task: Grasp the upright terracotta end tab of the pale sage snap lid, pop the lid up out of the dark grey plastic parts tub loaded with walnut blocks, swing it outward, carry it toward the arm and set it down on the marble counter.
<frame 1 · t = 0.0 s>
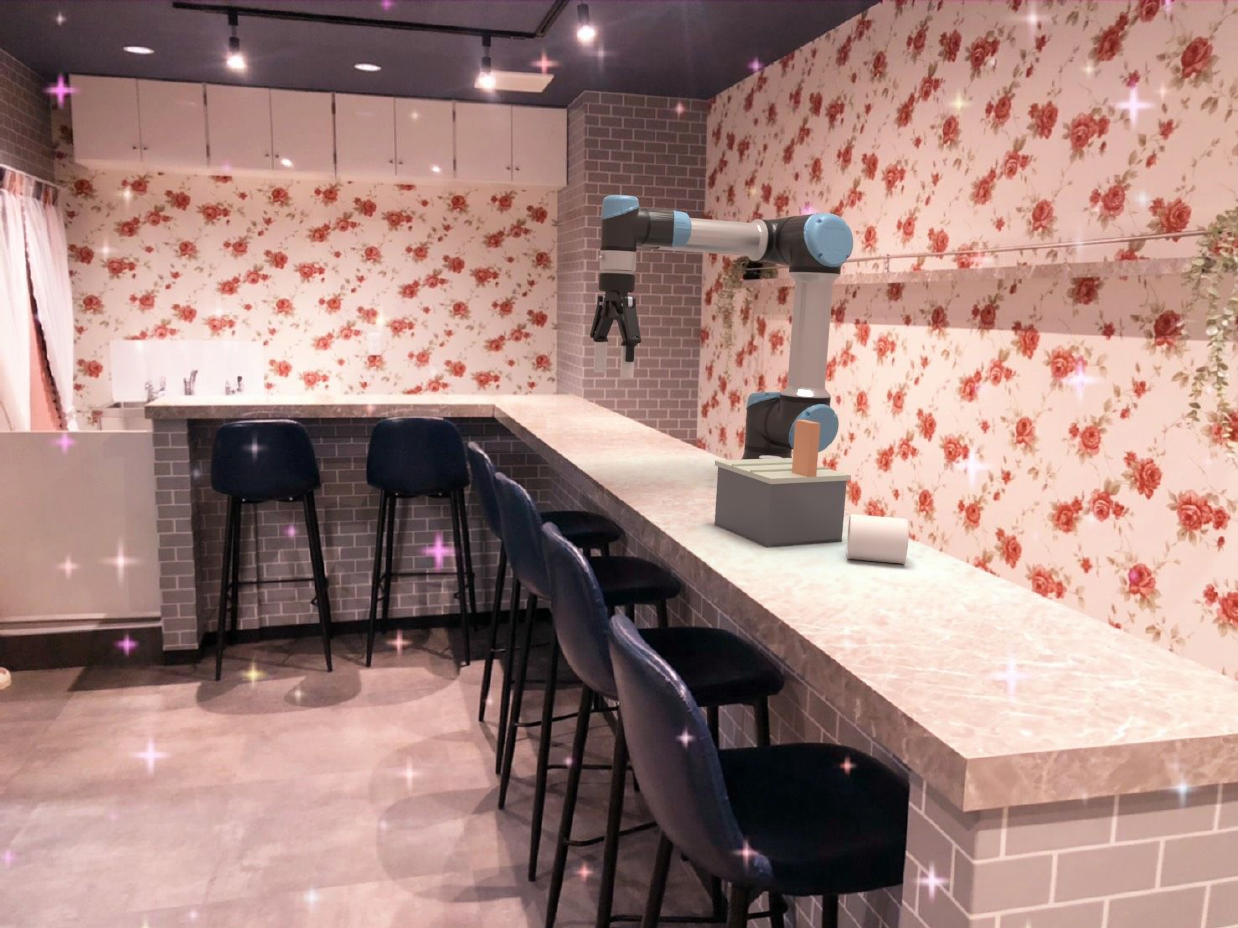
hand: (612, 375, 208), 28 cm above the worktop, fingers open, 13 cm apart
lid: (782, 447, 191), point 17 cm above the worktop, touching tub
beverage can: (767, 513, 213), on the worktop
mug: (874, 558, 178), on the worktop
tub: (776, 532, 194), on the worktop
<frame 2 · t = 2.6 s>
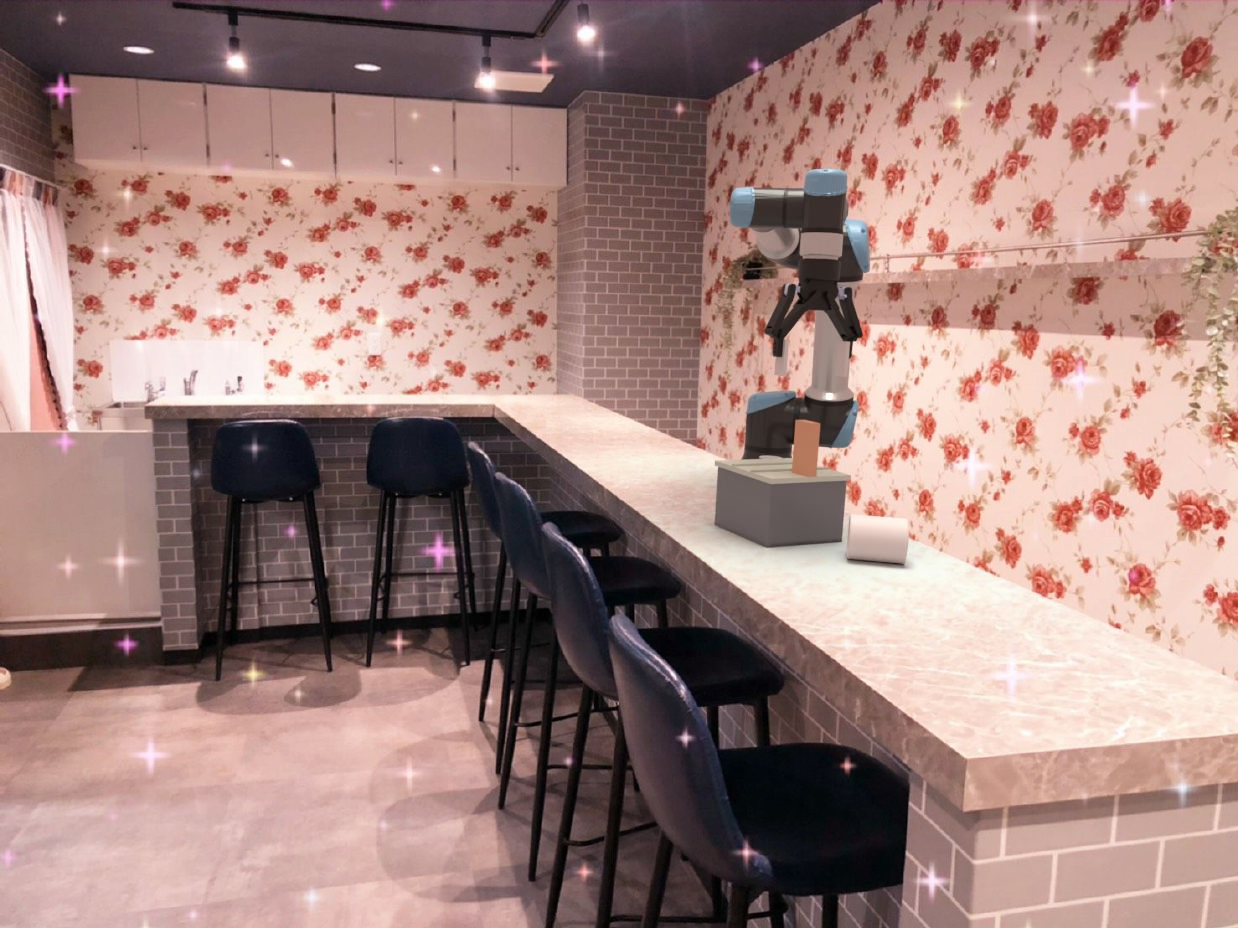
hand: (811, 376, 182), 31 cm above the worktop, fingers open, 13 cm apart
nothing on the worktop moved.
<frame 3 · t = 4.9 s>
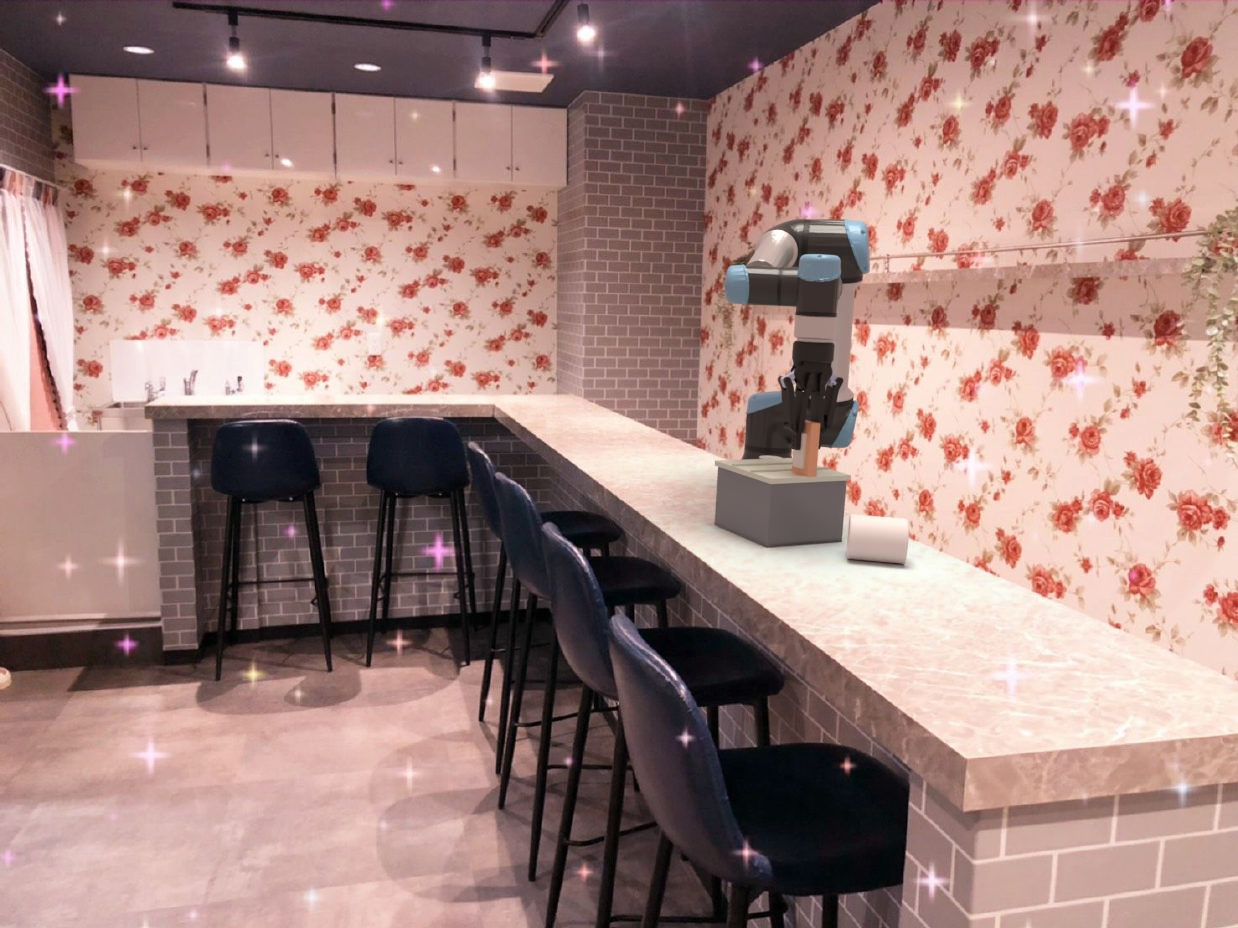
hand: (804, 466, 185), 14 cm above the worktop, fingers closed on lid, 2 cm apart
lid: (782, 447, 191), point 17 cm above the worktop, touching gripper, tub
everything else where it was.
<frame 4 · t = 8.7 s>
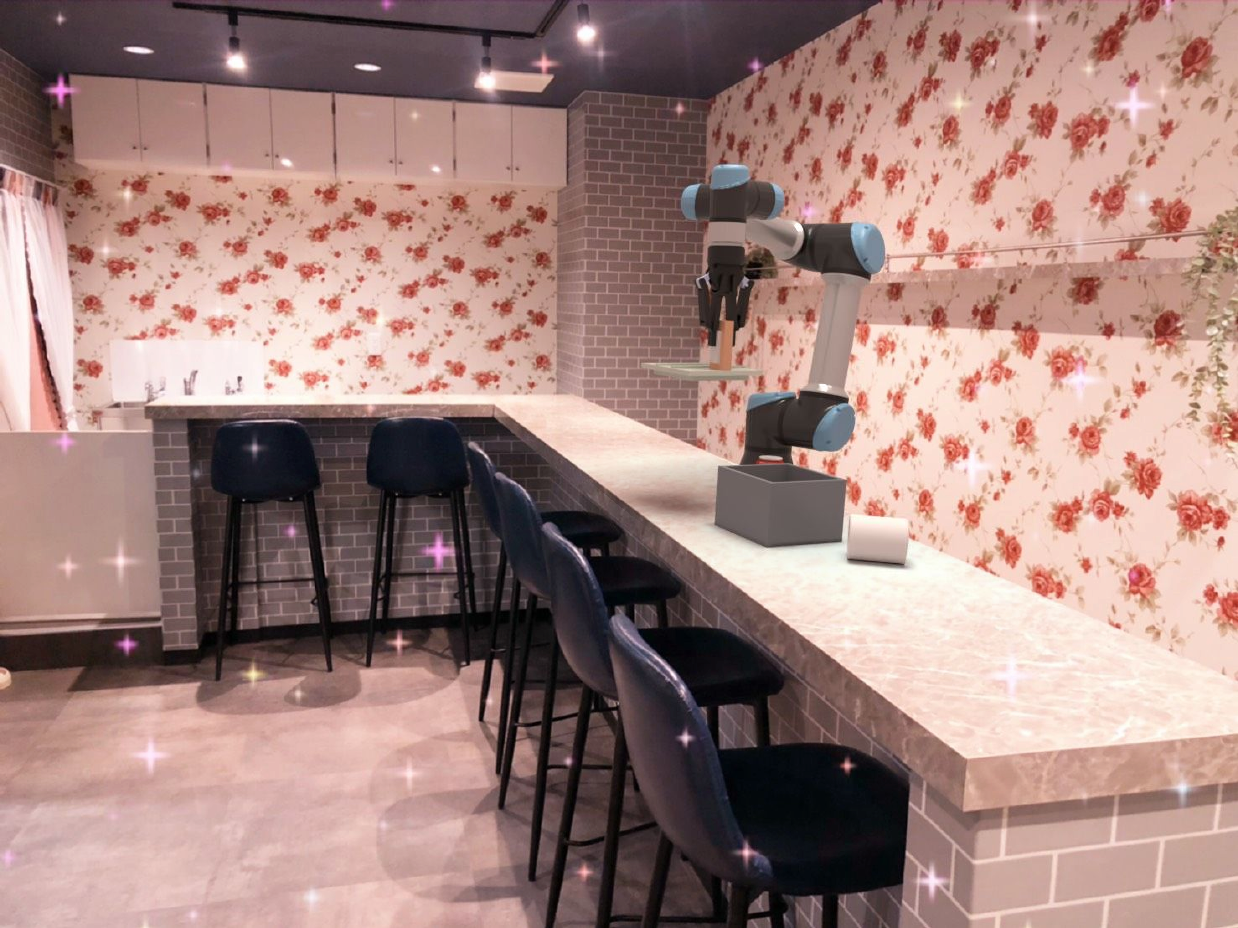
hand: (720, 362, 202), 32 cm above the worktop, fingers closed on lid, 2 cm apart
lid: (701, 348, 208), point 34 cm above the worktop, touching gripper
everything else where it was.
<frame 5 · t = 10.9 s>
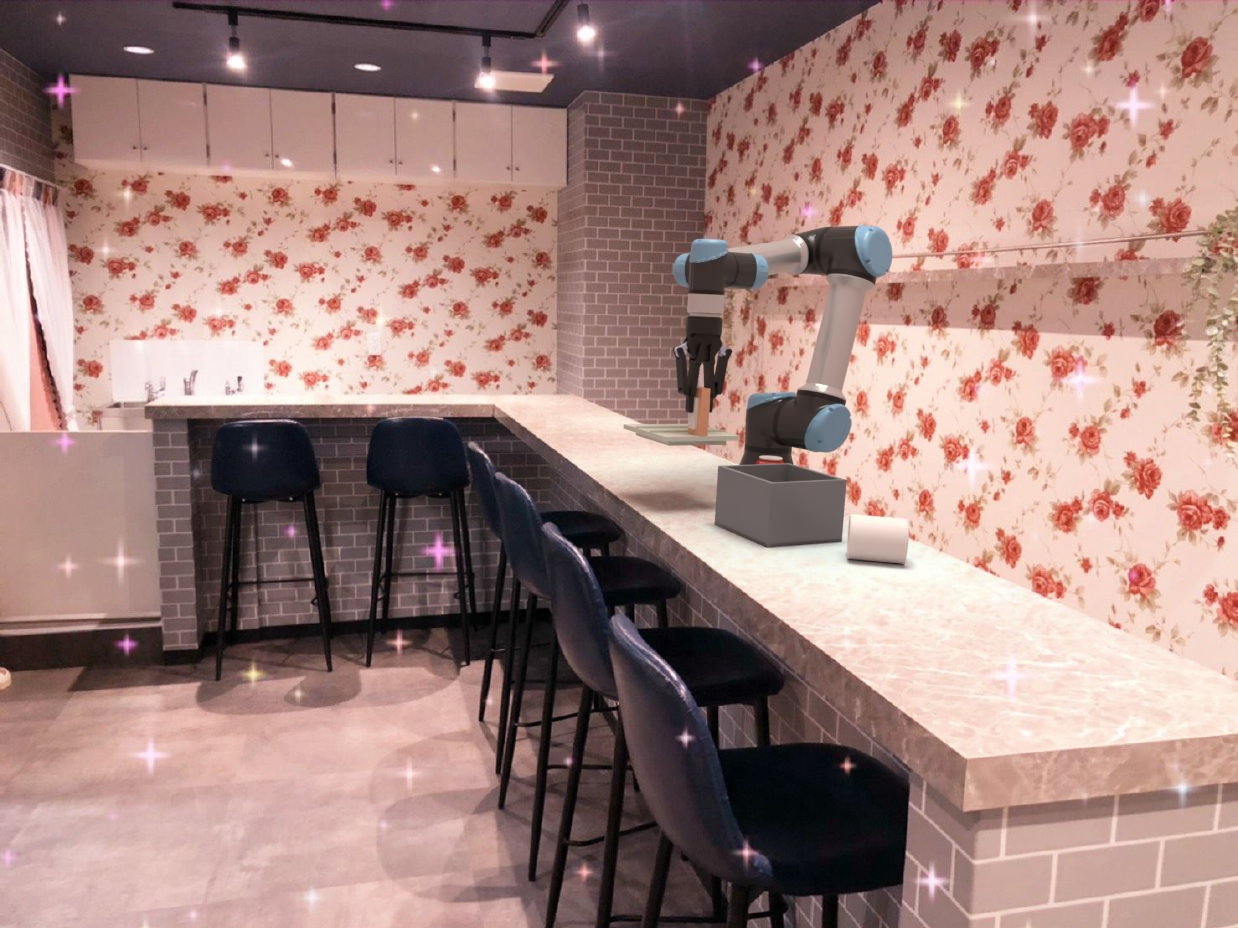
hand: (697, 427, 208), 18 cm above the worktop, fingers closed on lid, 2 cm apart
lid: (681, 412, 215), point 20 cm above the worktop, touching gripper
everything else where it was.
when the fingers open (5 cm above the worktop, at t = 12.5 s): lid drops 2 cm, on the worktop.
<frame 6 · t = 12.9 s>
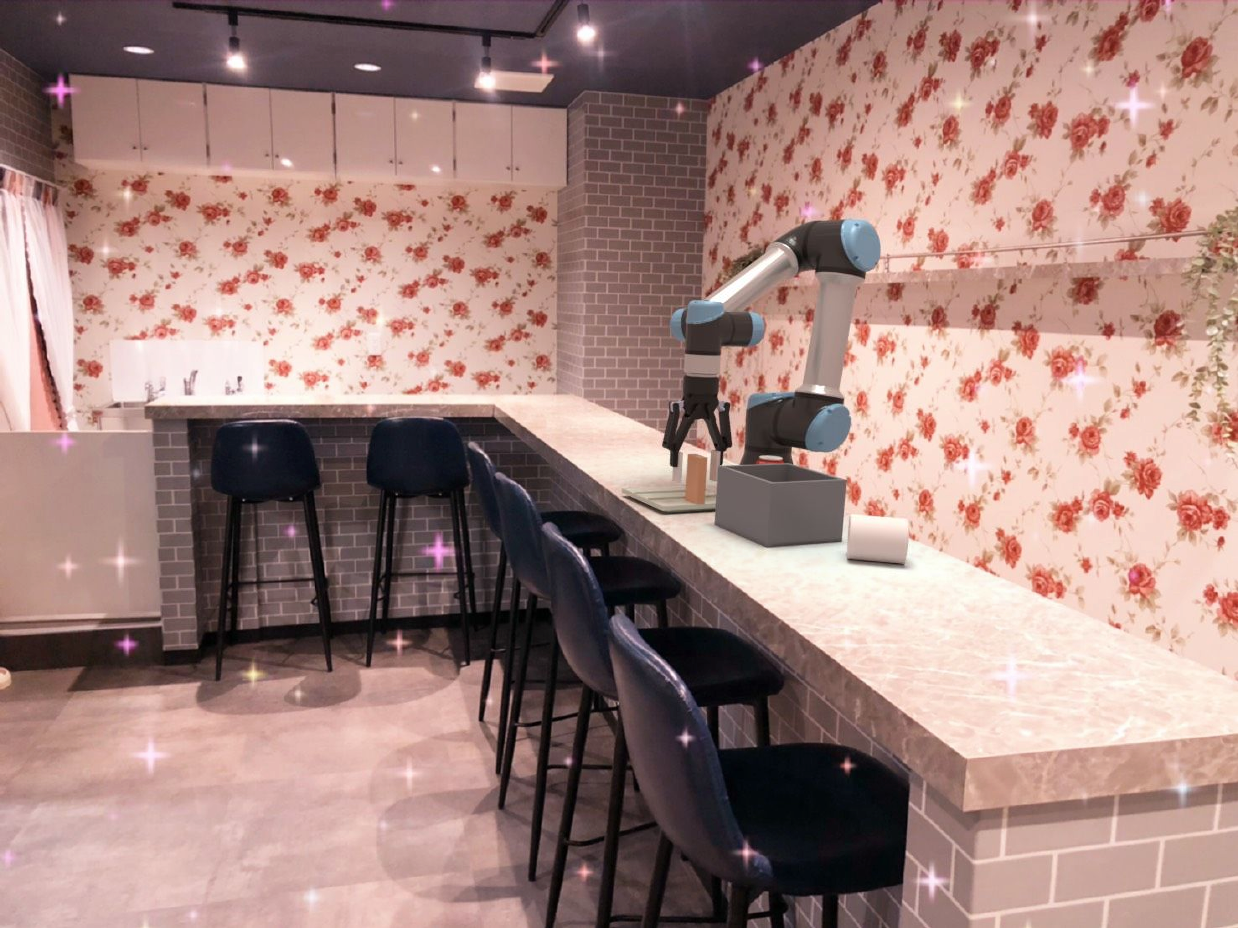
hand: (695, 481, 210), 6 cm above the worktop, fingers open, 8 cm apart
lid: (679, 477, 217), on the worktop
everything else where it was.
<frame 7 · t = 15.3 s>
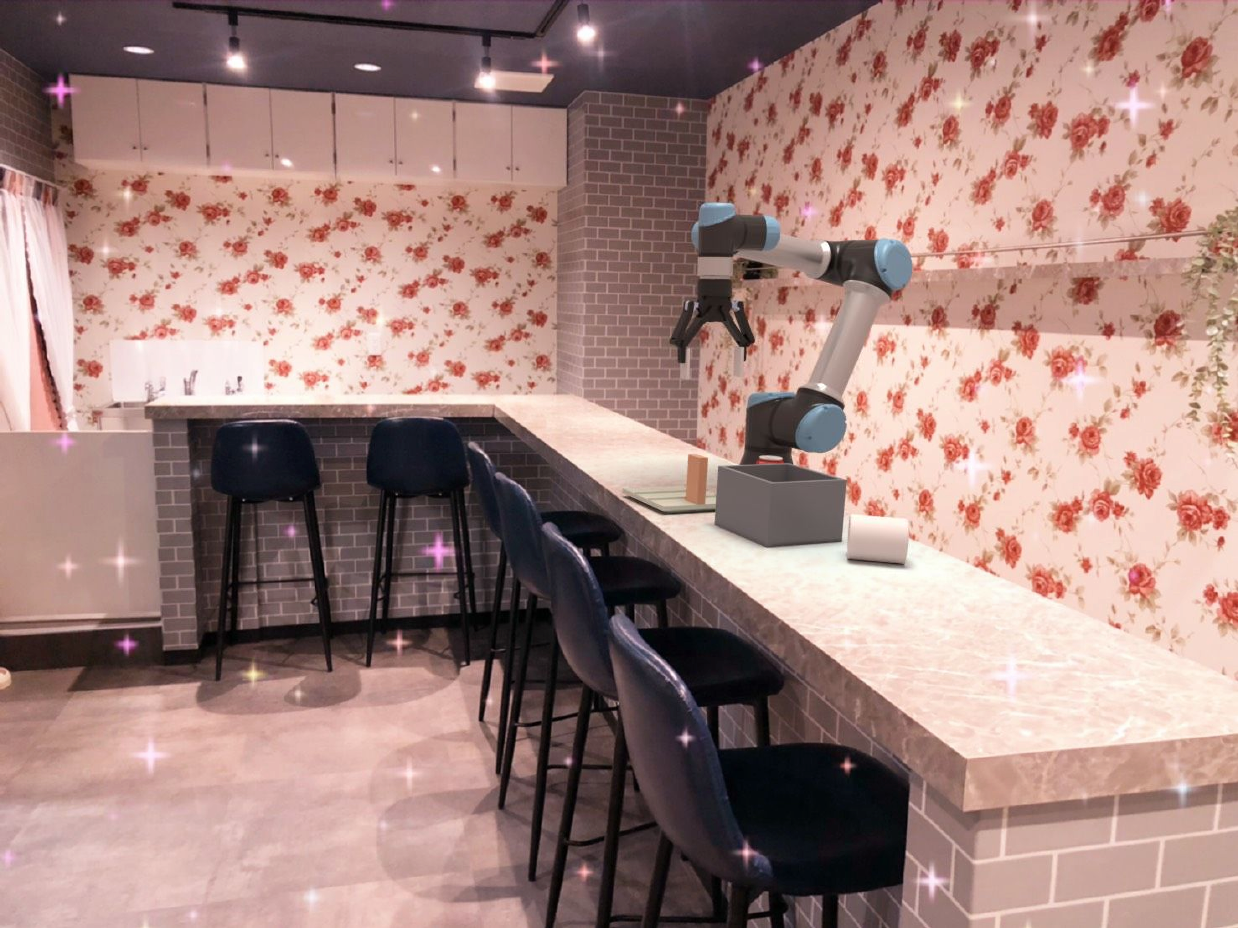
hand: (711, 377, 214), 28 cm above the worktop, fingers open, 13 cm apart
nothing on the worktop moved.
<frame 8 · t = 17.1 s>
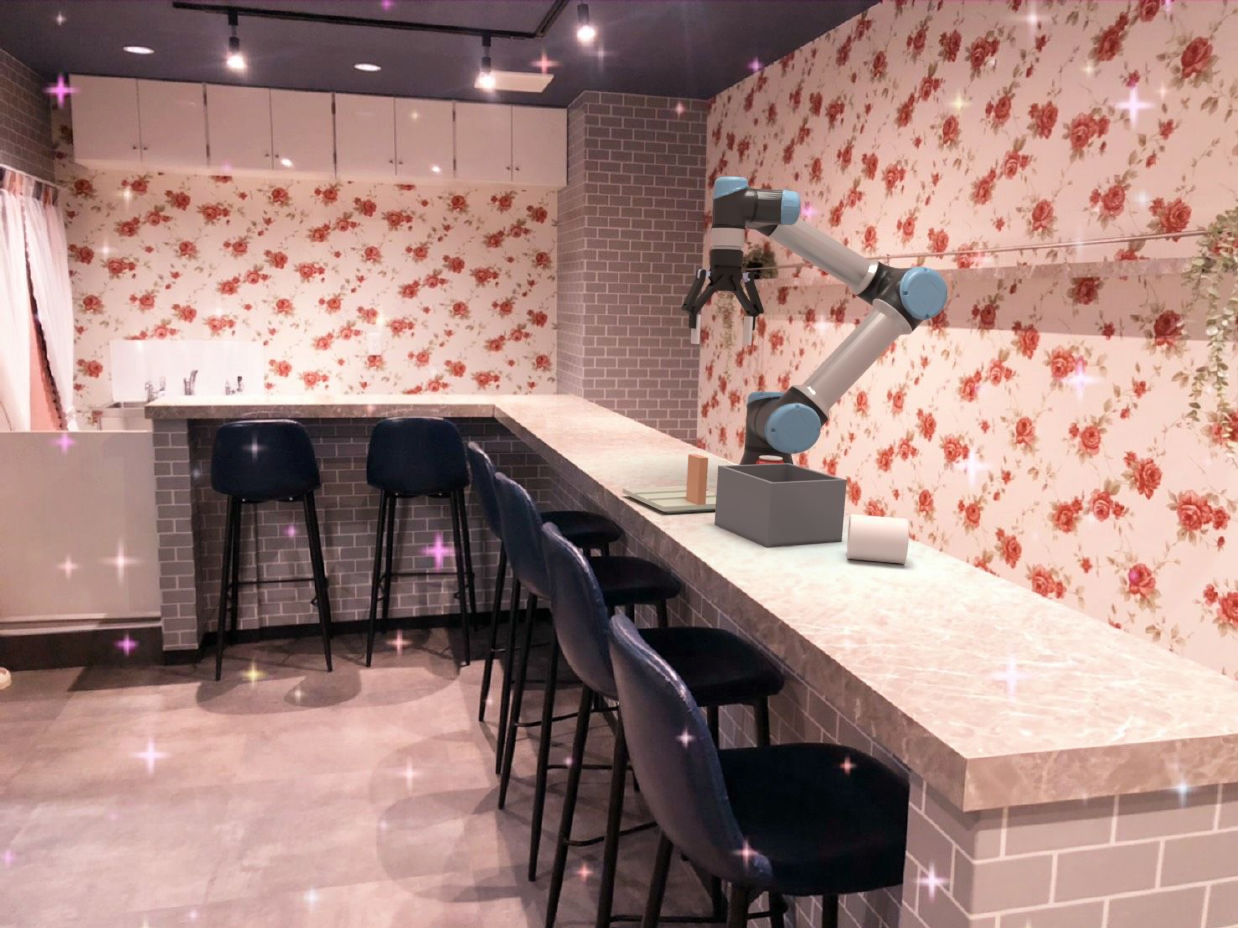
hand: (721, 344, 224), 35 cm above the worktop, fingers open, 13 cm apart
nothing on the worktop moved.
at the end: lid inside the target area (0.5 cm from its centre), on the worktop; lid touching worktop; lid tilted 0° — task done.
